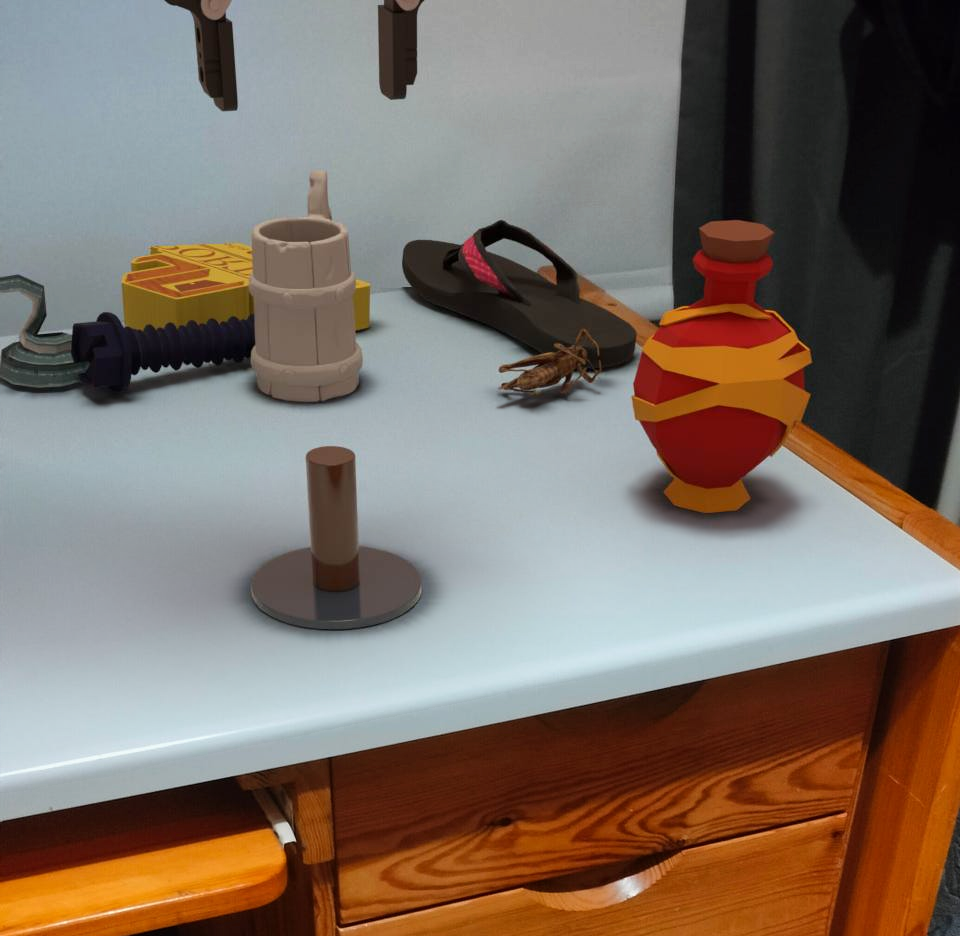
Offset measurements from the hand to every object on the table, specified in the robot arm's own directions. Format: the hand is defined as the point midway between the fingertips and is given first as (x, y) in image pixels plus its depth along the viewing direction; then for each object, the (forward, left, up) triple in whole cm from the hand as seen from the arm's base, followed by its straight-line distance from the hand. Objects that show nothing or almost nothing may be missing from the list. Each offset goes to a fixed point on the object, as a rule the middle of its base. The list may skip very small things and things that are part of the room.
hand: (310, 102), depth 80 cm
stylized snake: (-29, +17, -23) cm, 41 cm away
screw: (-19, +20, -23) cm, 36 cm away
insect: (+5, +26, -20) cm, 33 cm away
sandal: (-5, +41, -23) cm, 47 cm away
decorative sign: (-23, +38, -21) cm, 49 cm away
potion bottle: (+18, +16, -23) cm, 33 cm away
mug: (-13, +24, -23) cm, 35 cm away
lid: (+3, -5, -22) cm, 23 cm away
